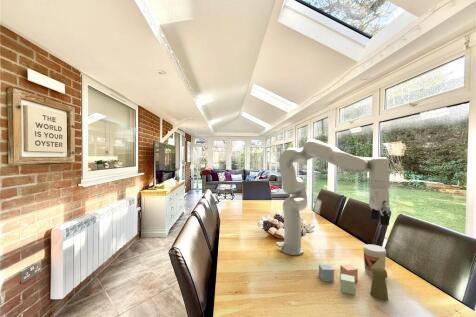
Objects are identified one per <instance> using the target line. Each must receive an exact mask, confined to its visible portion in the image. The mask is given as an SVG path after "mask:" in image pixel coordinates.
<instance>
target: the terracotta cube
mask: <svg viewBox="0 0 476 317" xmlns="http://www.w3.org/2000/svg"><path fill="white" fill-rule="evenodd" d="M339 270H340V271H339V272H340V274H339V275H340V276H339V277H341V274H345V275H350V276H354V281H355V282H356V281H358V280H359V278H358V275H359V274H358V270H359V269H358V268H357V267H355V266H354V265H352V264H350V263H347V264H340V266H339Z"/></svg>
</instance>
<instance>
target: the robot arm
mask: <svg viewBox="0 0 476 317" xmlns="http://www.w3.org/2000/svg"><path fill="white" fill-rule="evenodd" d="M281 152H282V153H281V154H280V155H279V159H278V163H279V169H280V176H281V183H282V184H281V186H282V190H283V192H284V193H285V194H287V195H291V196H289V197H287V198H285V199H284V201H283V202H282V211H283V221H284V222H283V224H284V225H283V234H284V235H283V236H284V237H283V241H281V242H276V246H278V248H281V252H282V253H284V254H286V255H290V256H300V255H303V254H304V251H305V250H304V248H303V247H302V218H301V214H300V212H302V211H304V210H305V209H306V208H307V206H308V199H307V198H308V197H307V196H308V195H307V190H306V185H305V182H304V180H303V179H302V178H301V177H299V176H298V177H297V174H296V169H295V166H294V164H295V163H303V162H306V161H309V160H312V159H313V158H318V159H320V160H322V161H324V162H327V163H329V164H331V165H333V166H335V167H338V168H340V169H343V170H345V171H348V172H351V173H352V174H362V173H363V174H364V173H369V194H368V196H369V197H368V206H369V208H370V218H371V220H379V219H380V223H379V224H380V225H381V226H389V225H390V214H391V213H390V212H391V207H390V194H389V189H390V163H389V162H390V159H389V158H388V157H383V156H382V157H378V156H376V157H365V156H364V157H363V156H356V155H353V154H350V153H348V152H345V151H342V150H340V149H339V148H338V147H336V146H333V145H331V144H328V143H324V142H322V141H321V140H318V139H308V140H307V141H305V142H304V144H303V146H302V147H300V148H299V147H289V148H286V149H284V150H283V151H281Z"/></svg>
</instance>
